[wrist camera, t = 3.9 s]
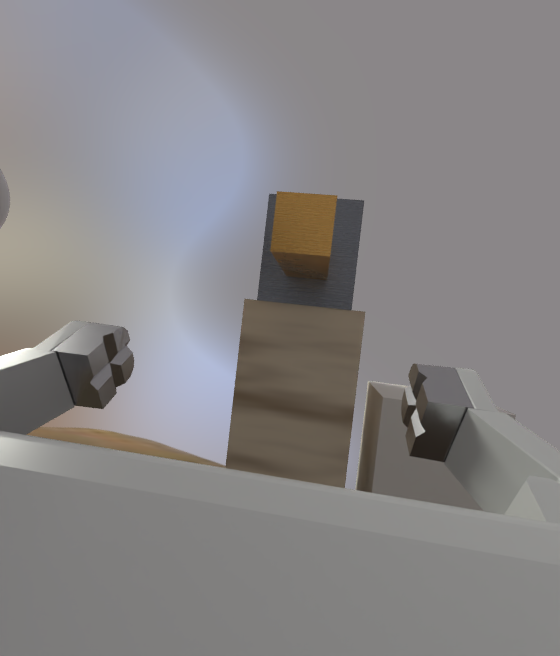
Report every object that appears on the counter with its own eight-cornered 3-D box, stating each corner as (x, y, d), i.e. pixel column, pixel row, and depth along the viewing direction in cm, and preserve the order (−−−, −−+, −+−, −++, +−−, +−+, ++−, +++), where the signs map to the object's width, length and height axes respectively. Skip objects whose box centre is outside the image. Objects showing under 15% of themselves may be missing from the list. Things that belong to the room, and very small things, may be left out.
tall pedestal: (324, 663, 26) (365, 311, 25) (206, 636, 27) (244, 298, 26) (323, 584, 34) (354, 315, 33) (232, 566, 35) (262, 305, 34)
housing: (366, 301, 17) (385, 136, 17) (227, 286, 18) (245, 129, 18) (344, 314, 32) (354, 228, 32) (270, 306, 33) (280, 222, 33)
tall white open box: (480, 698, 24) (515, 415, 24) (351, 669, 25) (383, 397, 25) (441, 607, 32) (467, 393, 32) (343, 588, 33) (368, 380, 33)
